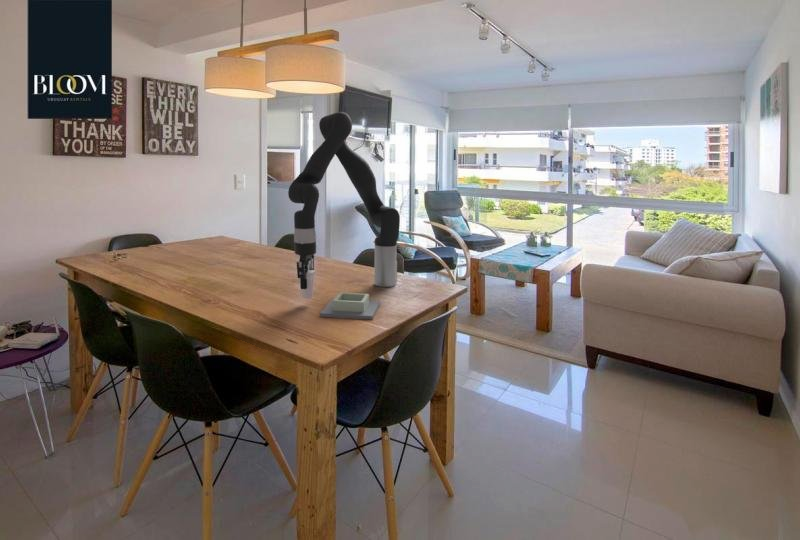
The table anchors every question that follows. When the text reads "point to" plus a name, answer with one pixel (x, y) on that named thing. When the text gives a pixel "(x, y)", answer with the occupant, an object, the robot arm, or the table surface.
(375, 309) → the stand
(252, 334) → the table surface
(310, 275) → the smoothie
